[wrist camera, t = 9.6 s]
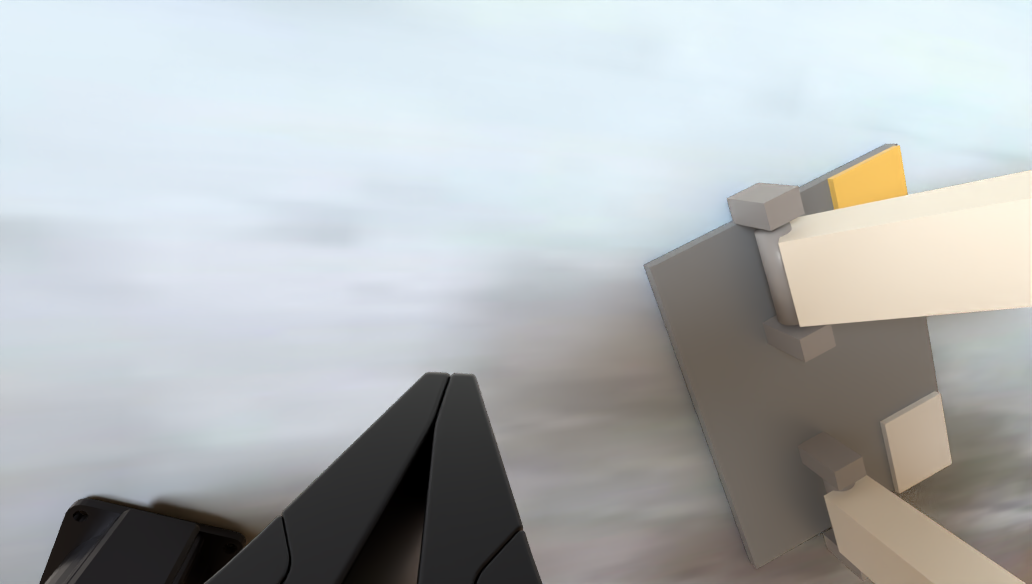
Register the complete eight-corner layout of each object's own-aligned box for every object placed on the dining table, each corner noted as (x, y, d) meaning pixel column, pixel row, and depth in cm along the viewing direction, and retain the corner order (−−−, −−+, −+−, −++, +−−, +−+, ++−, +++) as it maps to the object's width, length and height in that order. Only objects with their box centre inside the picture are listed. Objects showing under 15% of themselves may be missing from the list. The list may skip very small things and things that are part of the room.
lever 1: (775, 333, 23) (1213, 296, 15) (750, 243, 21) (1218, 157, 14) (780, 305, 24) (1175, 261, 17) (758, 220, 23) (1177, 134, 16)
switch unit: (755, 577, 30) (793, 622, 27) (634, 239, 23) (668, 251, 20) (942, 470, 31) (997, 502, 28) (880, 117, 24) (946, 111, 21)
